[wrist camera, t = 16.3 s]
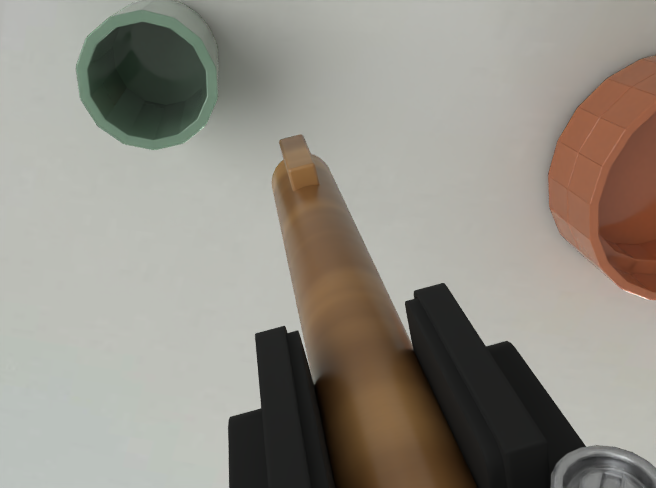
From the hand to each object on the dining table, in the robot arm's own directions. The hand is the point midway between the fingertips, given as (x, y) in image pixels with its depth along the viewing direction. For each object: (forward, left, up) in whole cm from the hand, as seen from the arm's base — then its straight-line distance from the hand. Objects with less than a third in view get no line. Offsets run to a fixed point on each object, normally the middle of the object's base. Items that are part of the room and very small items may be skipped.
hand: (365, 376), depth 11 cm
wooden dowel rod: (0, 0, -11) cm, 11 cm away
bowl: (+12, +25, -29) cm, 40 cm away
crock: (-2, -5, -29) cm, 29 cm away
